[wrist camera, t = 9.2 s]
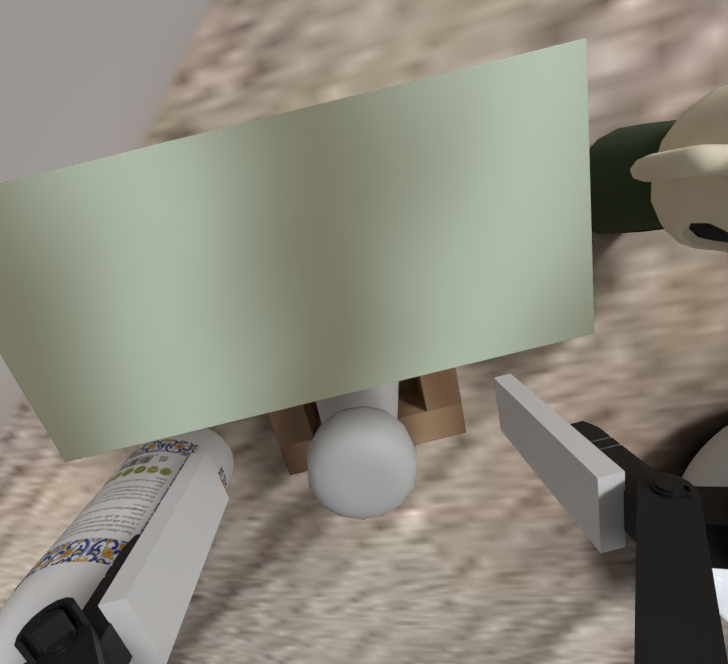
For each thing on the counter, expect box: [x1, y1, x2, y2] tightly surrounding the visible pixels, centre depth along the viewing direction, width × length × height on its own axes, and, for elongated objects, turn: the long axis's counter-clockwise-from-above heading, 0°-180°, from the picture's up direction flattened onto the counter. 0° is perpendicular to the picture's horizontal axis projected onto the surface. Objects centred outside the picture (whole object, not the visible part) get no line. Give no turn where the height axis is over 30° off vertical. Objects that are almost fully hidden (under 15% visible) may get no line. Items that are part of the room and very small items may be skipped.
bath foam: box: [0, 428, 234, 664], centre depth 18 cm, size 7×7×20 cm
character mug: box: [589, 85, 728, 252], centre depth 17 cm, size 11×7×13 cm, turn 91°
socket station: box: [0, 38, 594, 475], centre depth 17 cm, size 12×17×17 cm
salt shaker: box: [307, 381, 417, 520], centre depth 19 cm, size 6×6×13 cm
